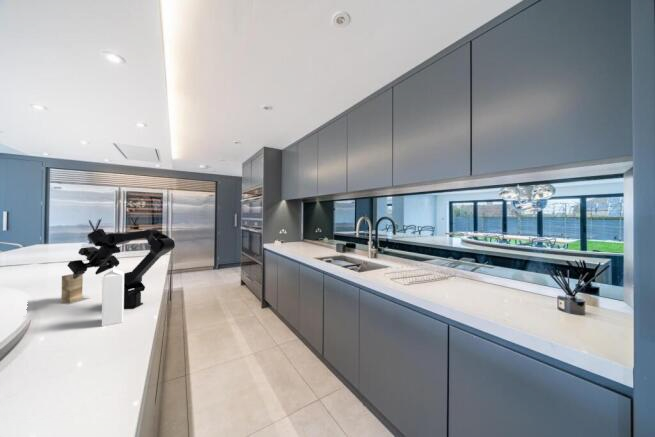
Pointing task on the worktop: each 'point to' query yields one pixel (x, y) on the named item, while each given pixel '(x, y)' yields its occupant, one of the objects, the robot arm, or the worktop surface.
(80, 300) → the tile
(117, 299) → the milk
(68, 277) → the oak block
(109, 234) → the robot arm
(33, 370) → the worktop surface
